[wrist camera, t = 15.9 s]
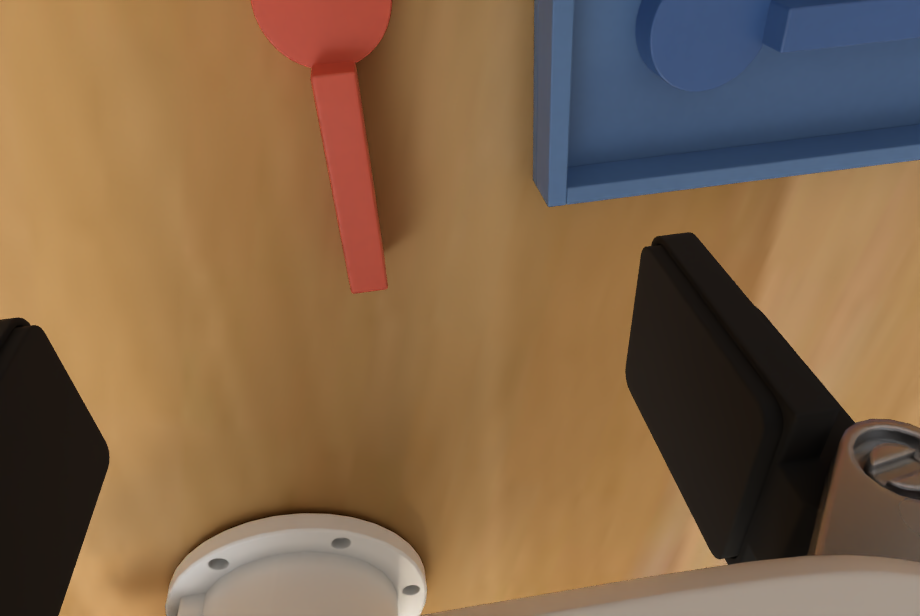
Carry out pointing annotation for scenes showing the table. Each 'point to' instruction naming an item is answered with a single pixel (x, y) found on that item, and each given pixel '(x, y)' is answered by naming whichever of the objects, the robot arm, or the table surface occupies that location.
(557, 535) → the table surface
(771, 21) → the blue spoon
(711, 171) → the blue tray
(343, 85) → the red spoon
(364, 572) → the robot arm
